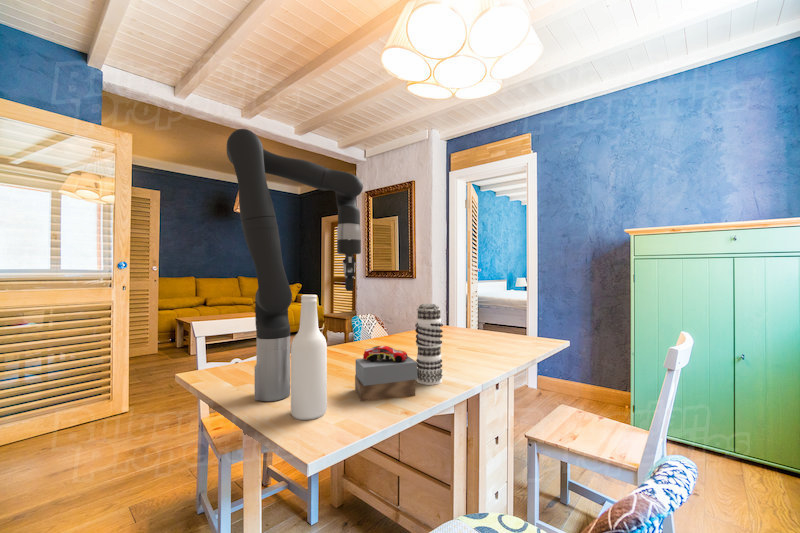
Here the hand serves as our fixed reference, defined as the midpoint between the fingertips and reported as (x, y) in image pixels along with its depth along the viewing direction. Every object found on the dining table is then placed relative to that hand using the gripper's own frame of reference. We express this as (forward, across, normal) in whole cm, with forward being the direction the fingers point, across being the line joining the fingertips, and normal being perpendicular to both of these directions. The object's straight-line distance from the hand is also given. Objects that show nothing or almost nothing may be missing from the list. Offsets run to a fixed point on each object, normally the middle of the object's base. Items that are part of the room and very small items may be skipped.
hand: (349, 289), depth 112 cm
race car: (+21, +9, +10) cm, 25 cm away
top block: (+26, +10, +10) cm, 29 cm away
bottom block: (+31, +9, +10) cm, 33 cm away
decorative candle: (+30, +1, +26) cm, 40 cm away
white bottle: (+30, +21, -11) cm, 38 cm away
